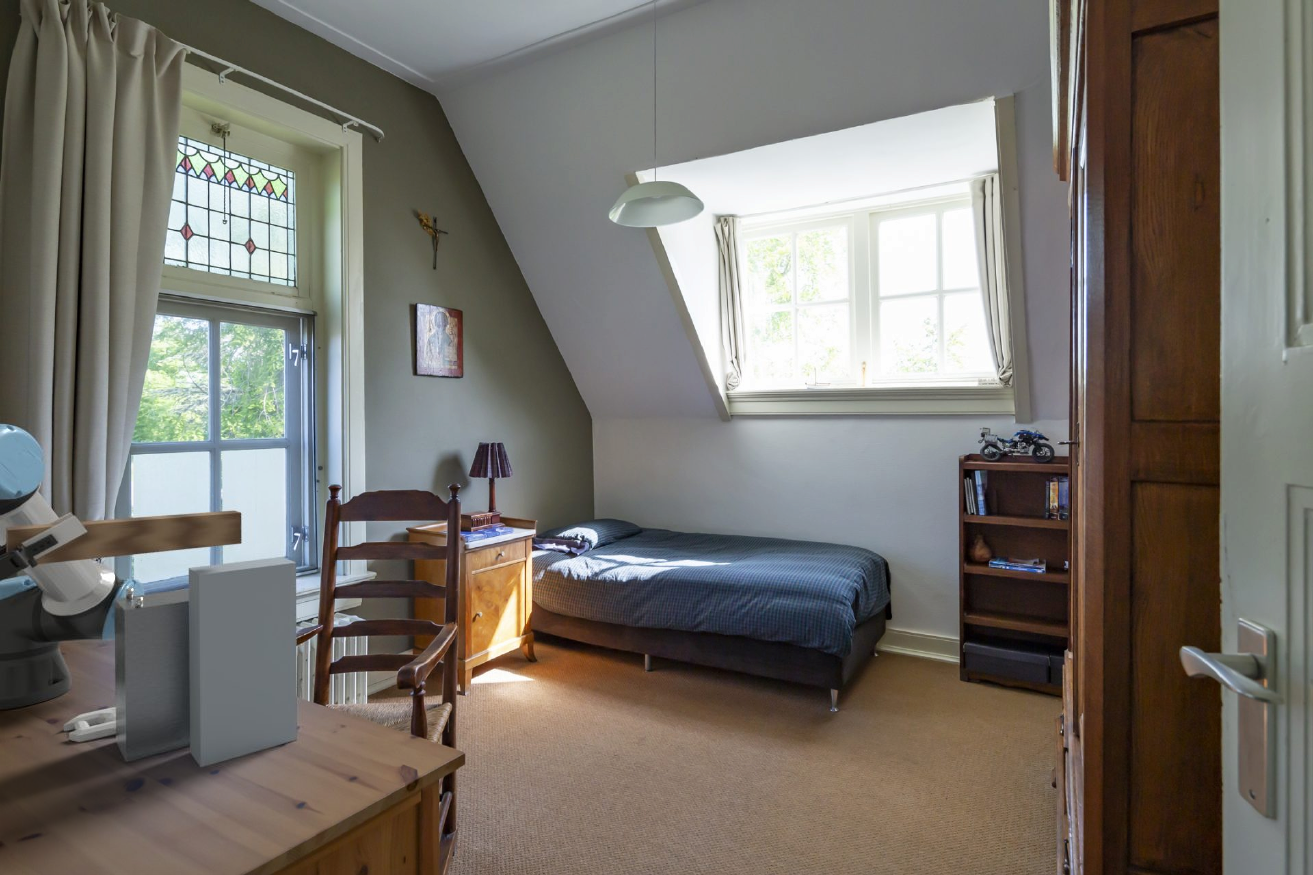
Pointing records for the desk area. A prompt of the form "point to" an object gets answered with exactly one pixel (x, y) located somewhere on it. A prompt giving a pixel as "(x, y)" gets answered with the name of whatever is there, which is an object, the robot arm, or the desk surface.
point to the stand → (242, 658)
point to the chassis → (152, 673)
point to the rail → (137, 535)
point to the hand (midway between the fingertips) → (78, 522)
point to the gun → (92, 725)
